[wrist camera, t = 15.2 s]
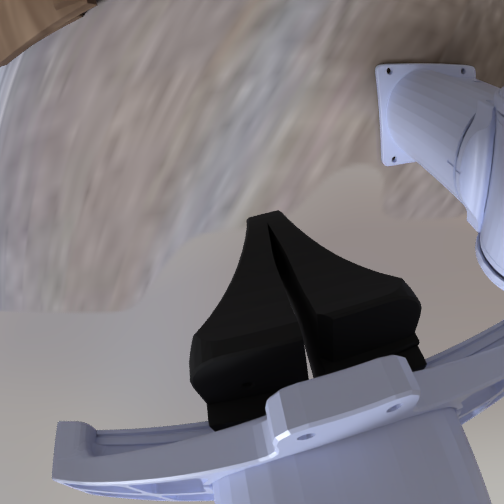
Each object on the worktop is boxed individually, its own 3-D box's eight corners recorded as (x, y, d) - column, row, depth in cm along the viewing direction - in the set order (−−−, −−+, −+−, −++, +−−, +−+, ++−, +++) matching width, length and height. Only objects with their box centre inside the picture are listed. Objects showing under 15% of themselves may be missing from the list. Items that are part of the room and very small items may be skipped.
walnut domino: (70, -55, 8) (-22, 15, 9) (87, 3, 11) (-7, 68, 12) (80, -50, 10) (-9, 14, 10) (97, 5, 13) (6, 65, 13)
